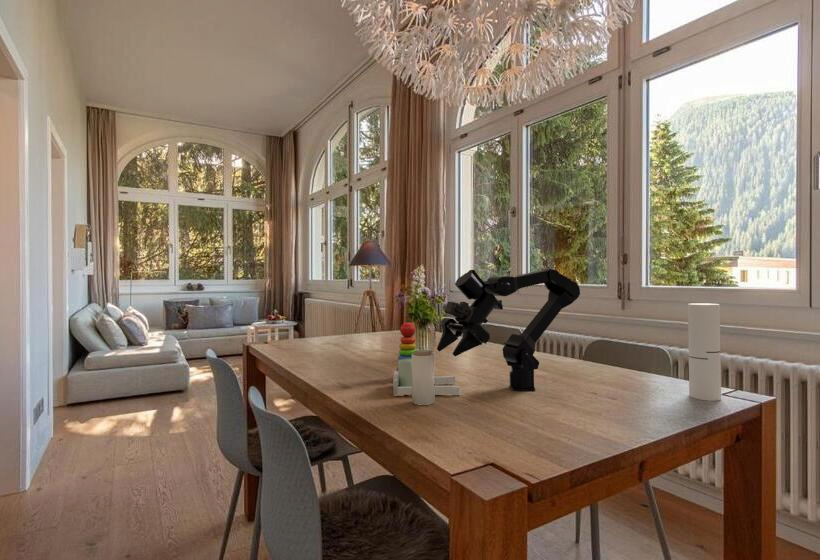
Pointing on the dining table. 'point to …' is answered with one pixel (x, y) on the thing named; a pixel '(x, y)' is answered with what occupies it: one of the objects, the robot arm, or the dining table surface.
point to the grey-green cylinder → (405, 372)
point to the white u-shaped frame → (438, 389)
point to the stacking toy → (407, 342)
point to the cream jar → (423, 377)
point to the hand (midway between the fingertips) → (445, 352)
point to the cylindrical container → (704, 351)
